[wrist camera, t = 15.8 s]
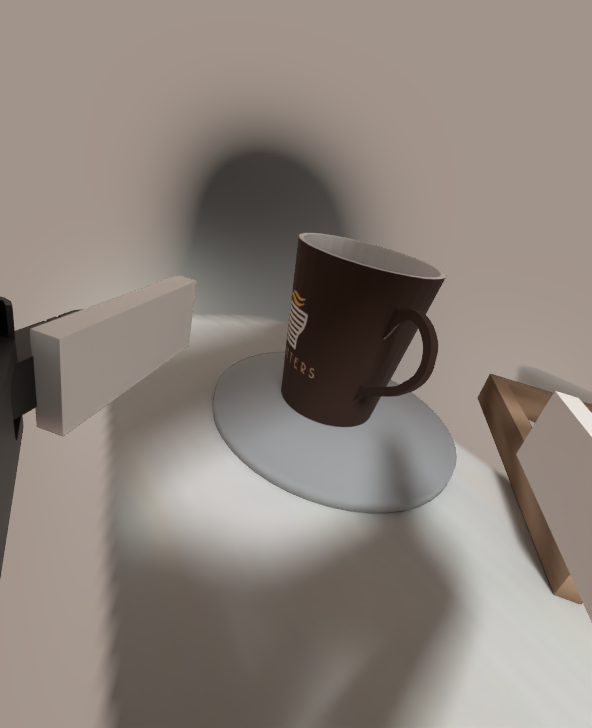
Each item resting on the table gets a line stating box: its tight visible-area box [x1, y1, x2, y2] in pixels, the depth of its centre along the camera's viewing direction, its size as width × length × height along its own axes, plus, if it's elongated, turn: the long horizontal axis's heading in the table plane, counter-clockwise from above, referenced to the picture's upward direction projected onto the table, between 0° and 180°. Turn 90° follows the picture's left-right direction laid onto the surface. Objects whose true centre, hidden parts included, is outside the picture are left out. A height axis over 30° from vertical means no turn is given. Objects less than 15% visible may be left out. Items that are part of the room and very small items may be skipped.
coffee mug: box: [281, 233, 446, 427], centre depth 23 cm, size 12×9×10 cm
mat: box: [213, 352, 457, 513], centre depth 26 cm, size 16×16×1 cm
